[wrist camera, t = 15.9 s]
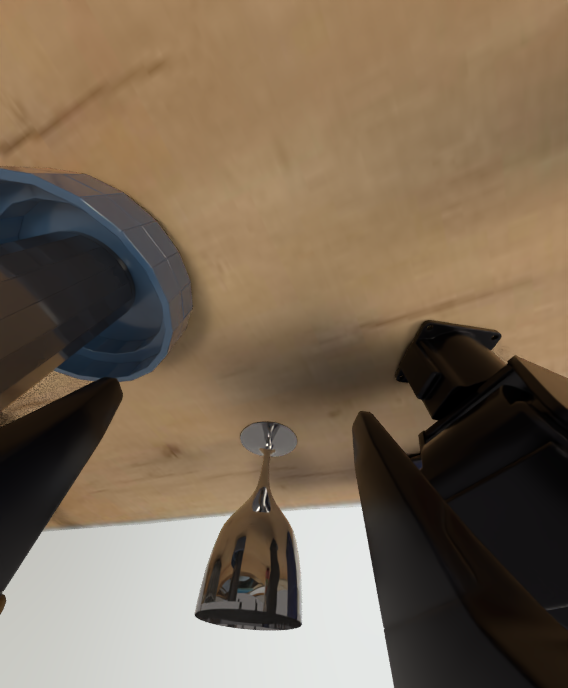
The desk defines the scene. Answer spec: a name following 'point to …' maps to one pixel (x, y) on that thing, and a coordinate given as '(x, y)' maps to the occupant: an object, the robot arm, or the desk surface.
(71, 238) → the cup
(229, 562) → the wine glass
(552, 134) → the desk surface
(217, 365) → the desk surface
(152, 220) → the bowl
